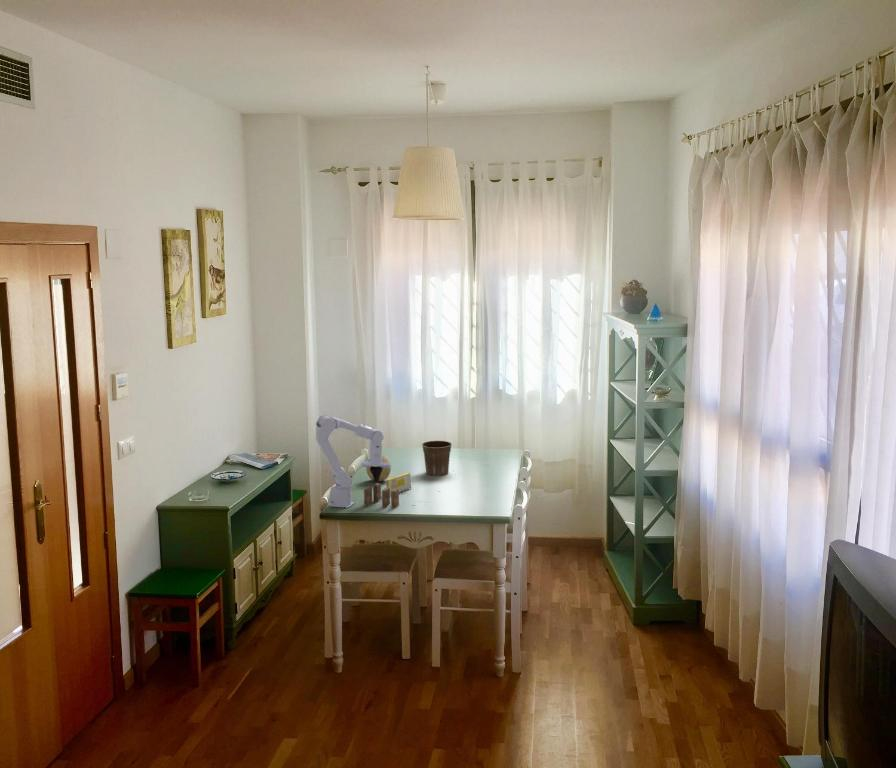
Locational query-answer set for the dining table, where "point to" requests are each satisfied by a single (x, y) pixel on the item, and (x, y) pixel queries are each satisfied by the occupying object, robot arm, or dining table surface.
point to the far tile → (394, 498)
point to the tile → (377, 492)
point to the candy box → (399, 482)
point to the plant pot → (437, 457)
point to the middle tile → (385, 497)
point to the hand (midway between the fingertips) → (376, 482)
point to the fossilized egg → (384, 472)
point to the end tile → (367, 496)
